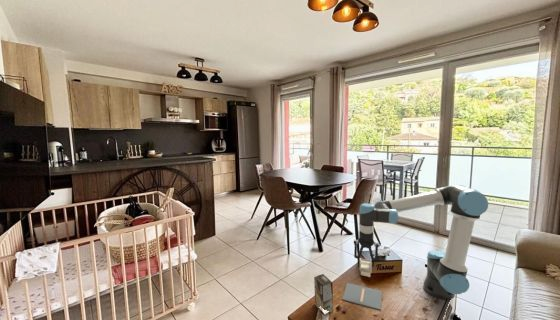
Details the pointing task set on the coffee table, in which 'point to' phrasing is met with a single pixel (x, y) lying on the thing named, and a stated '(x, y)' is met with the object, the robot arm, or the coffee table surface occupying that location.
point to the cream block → (365, 267)
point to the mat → (363, 296)
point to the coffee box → (323, 292)
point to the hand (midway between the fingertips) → (365, 270)
